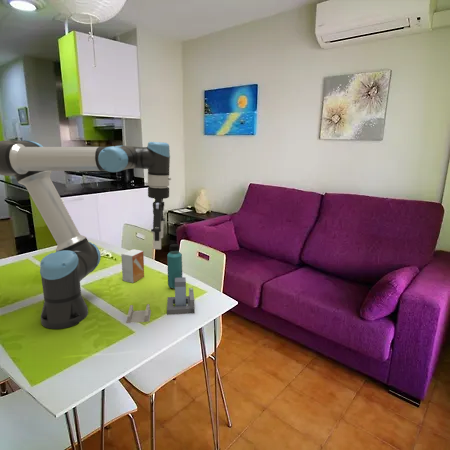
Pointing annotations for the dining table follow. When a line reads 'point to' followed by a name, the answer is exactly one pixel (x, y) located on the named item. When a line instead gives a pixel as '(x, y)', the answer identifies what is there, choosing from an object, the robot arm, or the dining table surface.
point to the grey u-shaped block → (138, 315)
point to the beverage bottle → (174, 265)
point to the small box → (132, 265)
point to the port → (181, 309)
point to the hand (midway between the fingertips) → (158, 243)
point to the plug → (180, 291)
